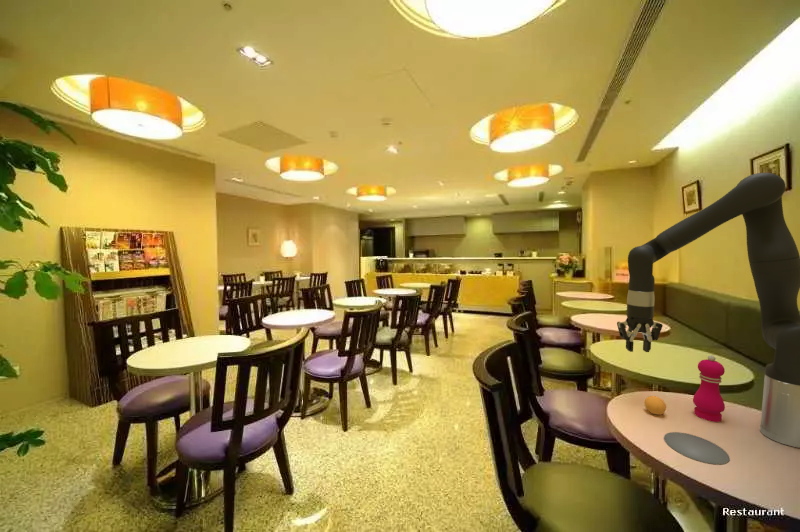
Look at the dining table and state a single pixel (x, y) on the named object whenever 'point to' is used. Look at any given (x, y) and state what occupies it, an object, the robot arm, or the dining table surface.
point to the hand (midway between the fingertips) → (638, 351)
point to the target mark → (696, 448)
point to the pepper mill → (709, 391)
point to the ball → (655, 405)
